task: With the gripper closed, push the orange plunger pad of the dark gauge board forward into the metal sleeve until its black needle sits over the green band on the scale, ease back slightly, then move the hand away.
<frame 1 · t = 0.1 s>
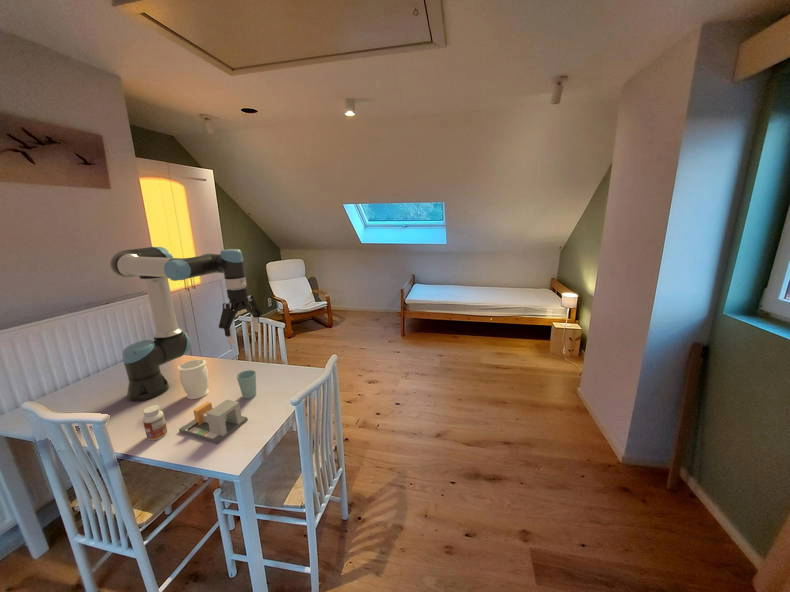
hand: (244, 337, 135), 28 cm above the table, fingers open, 13 cm apart
pill bottle: (157, 435, 119), on the table
plunger: (206, 418, 120), point 5 cm above the table, slide at 0.0 cm
jar: (198, 394, 145), on the table
gauge board: (213, 425, 123), on the table
cup: (249, 395, 143), on the table
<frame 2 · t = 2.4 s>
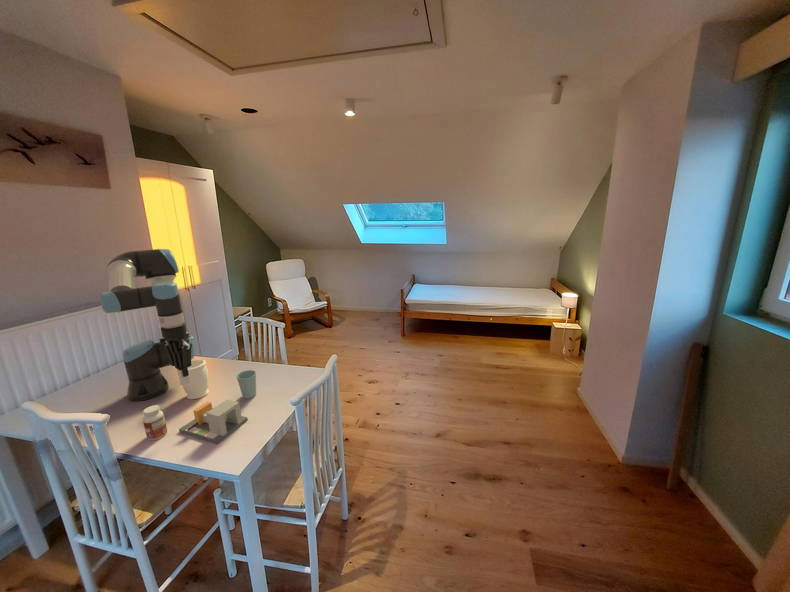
hand: (185, 383, 123), 16 cm above the table, fingers closed
nothing on the table moved.
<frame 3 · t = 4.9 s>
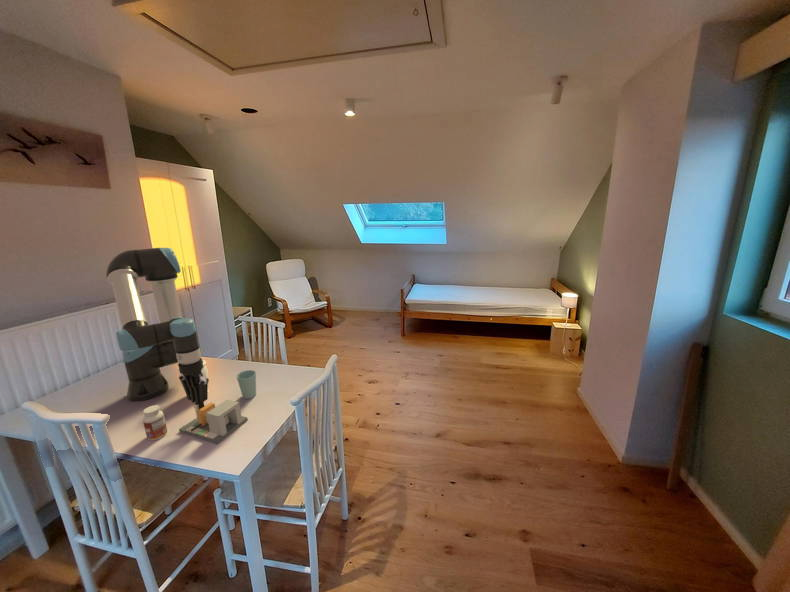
hand: (201, 416, 124), 3 cm above the table, fingers closed
plunger: (210, 419, 120), point 5 cm above the table, slide at 1.7 cm, touching gripper
everything else where it was.
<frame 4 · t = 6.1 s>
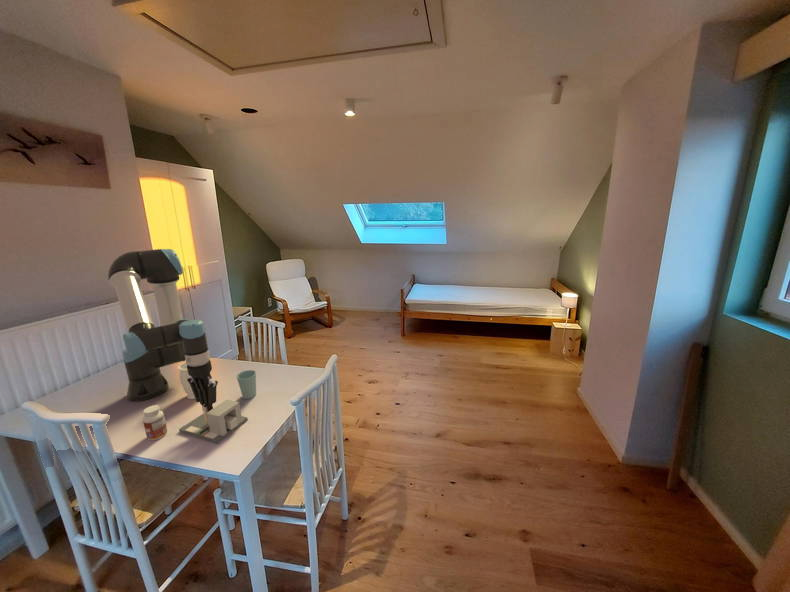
hand: (209, 419, 123), 3 cm above the table, fingers closed
plunger: (218, 421, 118), point 5 cm above the table, slide at 6.2 cm, touching gripper
everything else where it was.
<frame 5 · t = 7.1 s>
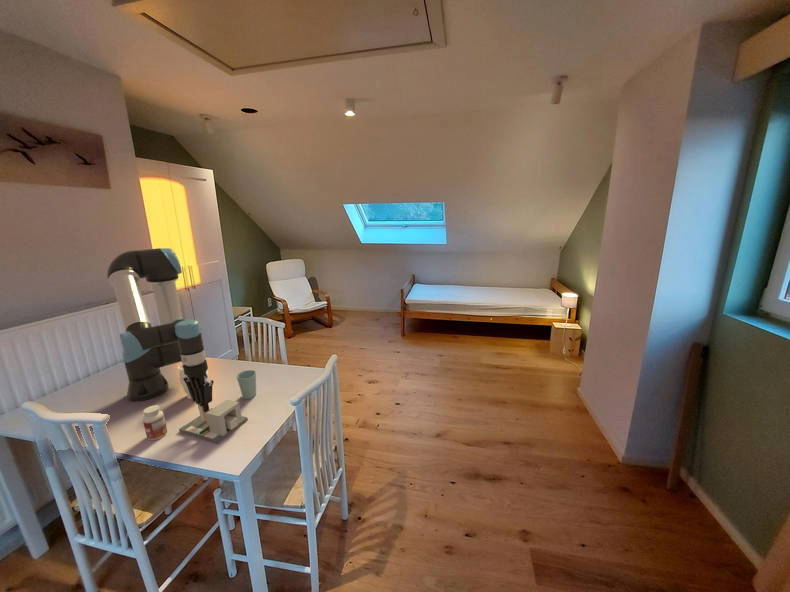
hand: (205, 418, 124), 2 cm above the table, fingers closed
plunger: (218, 421, 118), point 5 cm above the table, slide at 6.2 cm
everything else where it was.
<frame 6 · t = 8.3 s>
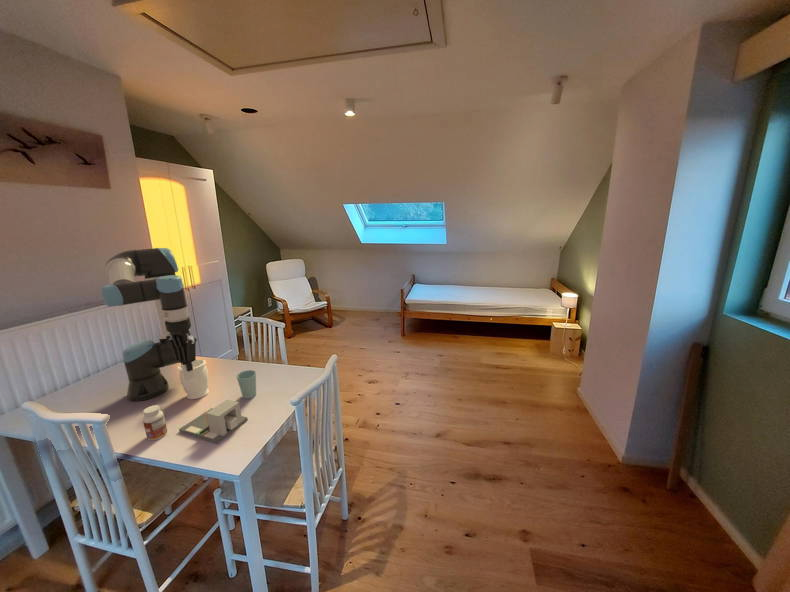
hand: (189, 377, 122), 19 cm above the table, fingers closed
nothing on the table moved.
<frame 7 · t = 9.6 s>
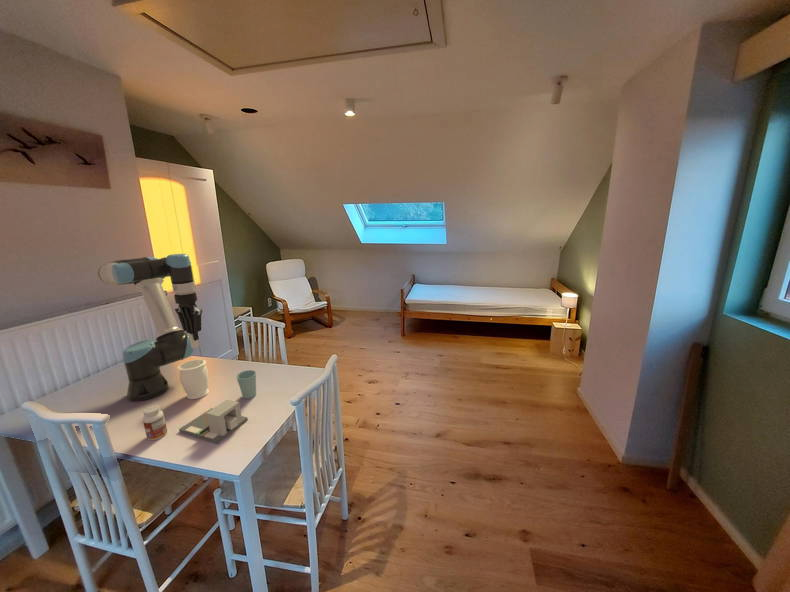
hand: (195, 346, 136), 24 cm above the table, fingers closed
nothing on the table moved.
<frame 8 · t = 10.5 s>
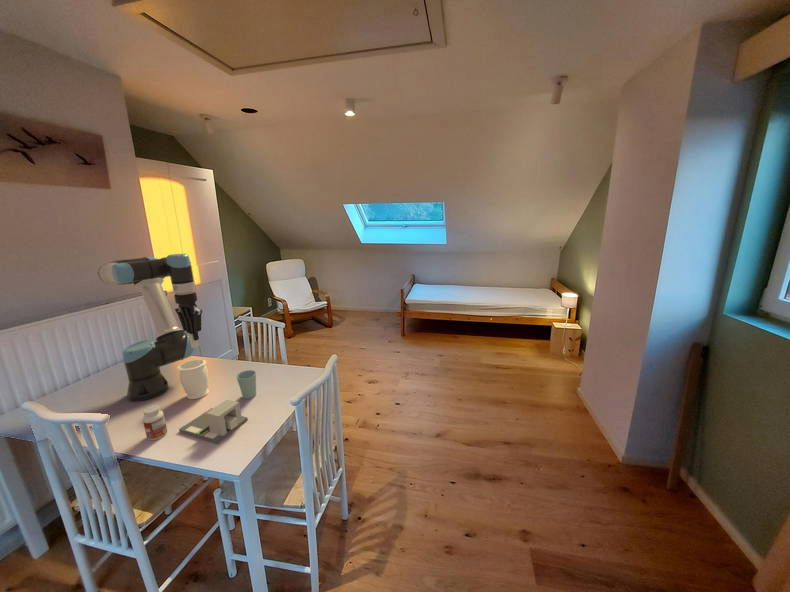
hand: (195, 346, 136), 24 cm above the table, fingers closed
nothing on the table moved.
at the end: plunger slide at 6.2 cm; plunger moved 6.2 cm from its start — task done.
